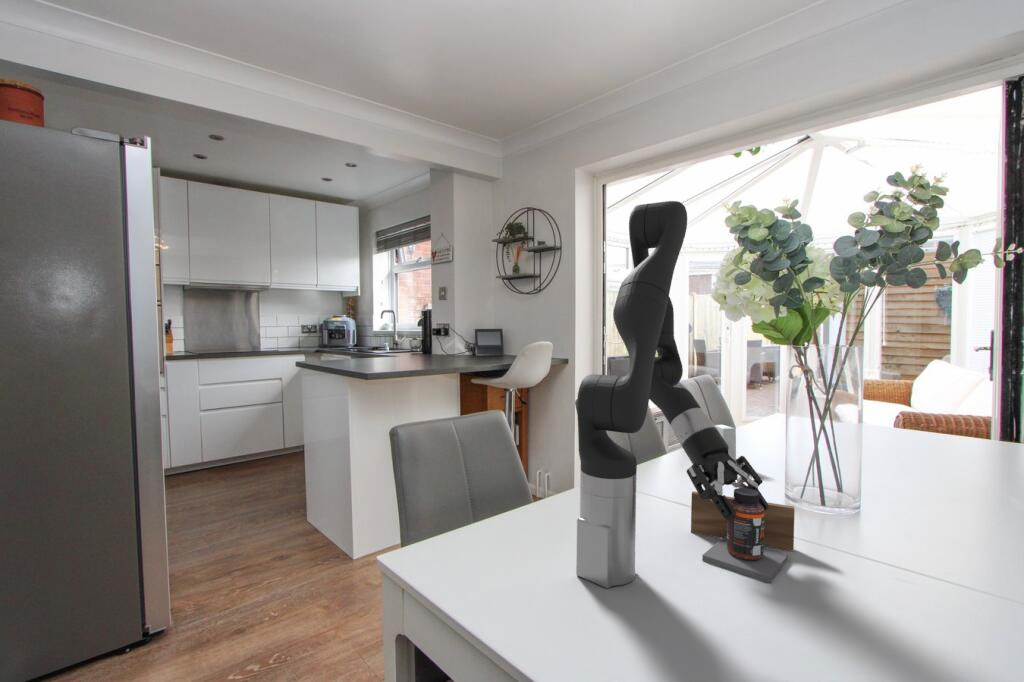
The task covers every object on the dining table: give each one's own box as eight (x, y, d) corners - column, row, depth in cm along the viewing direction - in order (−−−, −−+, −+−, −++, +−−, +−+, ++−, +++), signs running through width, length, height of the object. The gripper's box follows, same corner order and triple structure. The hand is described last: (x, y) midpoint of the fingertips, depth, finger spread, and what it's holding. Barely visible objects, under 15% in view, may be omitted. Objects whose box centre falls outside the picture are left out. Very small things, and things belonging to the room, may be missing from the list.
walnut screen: (793, 551, 90) (794, 508, 90) (690, 532, 98) (691, 493, 98) (792, 548, 91) (794, 506, 91) (691, 530, 99) (692, 491, 99)
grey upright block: (736, 469, 143) (737, 428, 142) (723, 469, 142) (724, 428, 141) (723, 463, 149) (724, 424, 148) (710, 464, 148) (711, 424, 147)
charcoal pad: (770, 583, 79) (770, 577, 78) (702, 560, 86) (702, 554, 86) (788, 559, 87) (788, 554, 87) (724, 540, 94) (725, 535, 94)
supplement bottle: (768, 563, 83) (769, 498, 83) (731, 560, 84) (732, 495, 84) (757, 548, 89) (759, 487, 88) (723, 545, 90) (724, 484, 90)
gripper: (682, 428, 90) (734, 510, 80) (735, 422, 96) (788, 498, 86) (661, 450, 95) (707, 530, 85) (712, 443, 101) (761, 517, 91)
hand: (748, 514), depth 86 cm, fingers open, 8 cm apart
